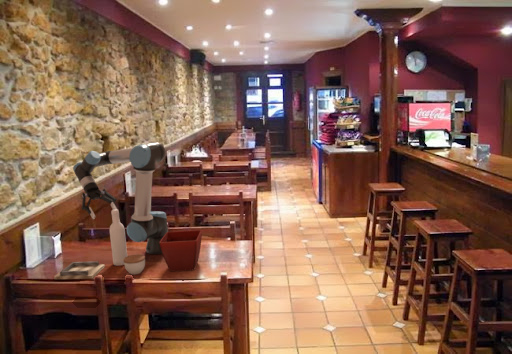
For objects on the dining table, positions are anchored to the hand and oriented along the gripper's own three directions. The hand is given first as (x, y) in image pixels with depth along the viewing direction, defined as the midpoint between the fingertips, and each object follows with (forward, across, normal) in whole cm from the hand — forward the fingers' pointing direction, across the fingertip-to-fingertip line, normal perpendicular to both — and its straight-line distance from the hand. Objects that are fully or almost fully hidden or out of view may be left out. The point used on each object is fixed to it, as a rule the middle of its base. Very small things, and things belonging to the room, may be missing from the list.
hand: (105, 215), depth 265 cm
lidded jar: (+39, +2, +3) cm, 40 cm away
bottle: (+26, 0, -11) cm, 28 cm away
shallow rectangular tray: (+22, +21, -14) cm, 34 cm away
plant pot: (+50, -18, +13) cm, 54 cm away
